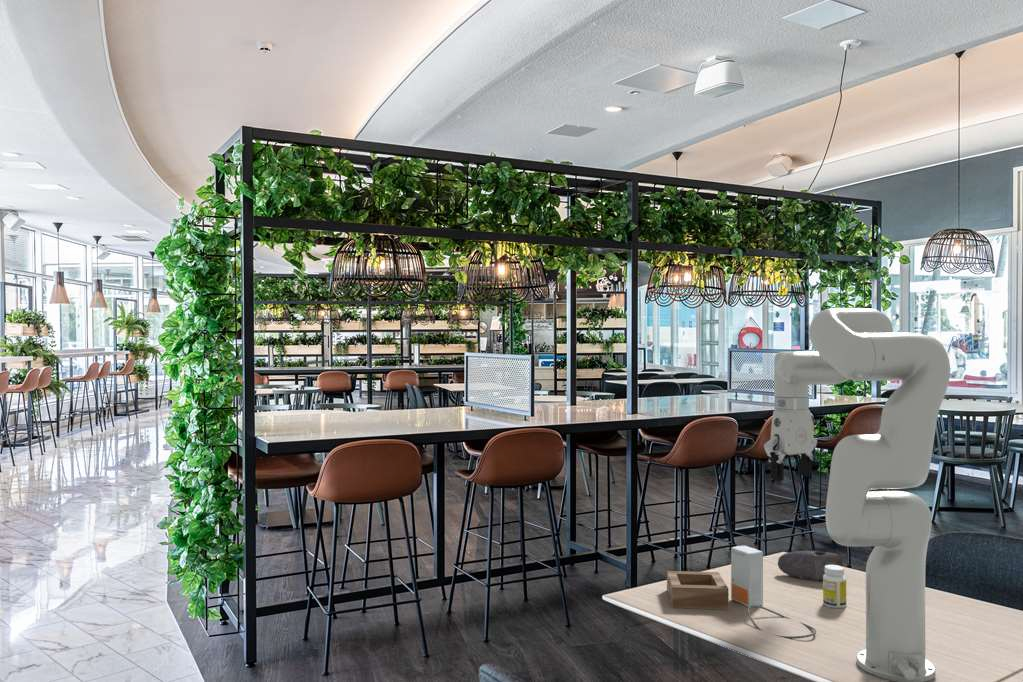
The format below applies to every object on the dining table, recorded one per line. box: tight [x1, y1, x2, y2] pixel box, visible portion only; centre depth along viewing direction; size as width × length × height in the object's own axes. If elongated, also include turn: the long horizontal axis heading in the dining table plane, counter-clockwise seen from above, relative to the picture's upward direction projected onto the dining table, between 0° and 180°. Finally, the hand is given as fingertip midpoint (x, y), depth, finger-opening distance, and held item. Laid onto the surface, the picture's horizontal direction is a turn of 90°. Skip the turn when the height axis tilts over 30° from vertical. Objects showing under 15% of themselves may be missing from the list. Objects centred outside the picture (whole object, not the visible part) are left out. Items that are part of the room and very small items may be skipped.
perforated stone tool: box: [777, 550, 844, 581], centre depth 188 cm, size 15×5×7 cm, turn 60°
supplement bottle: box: [822, 565, 847, 609], centre depth 169 cm, size 5×5×8 cm
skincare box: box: [730, 545, 764, 608], centre depth 171 cm, size 6×4×12 cm
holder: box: [666, 570, 729, 610], centre depth 173 cm, size 12×12×4 cm
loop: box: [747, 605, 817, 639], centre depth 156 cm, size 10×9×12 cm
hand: (791, 477), depth 177 cm, fingers open, 9 cm apart
